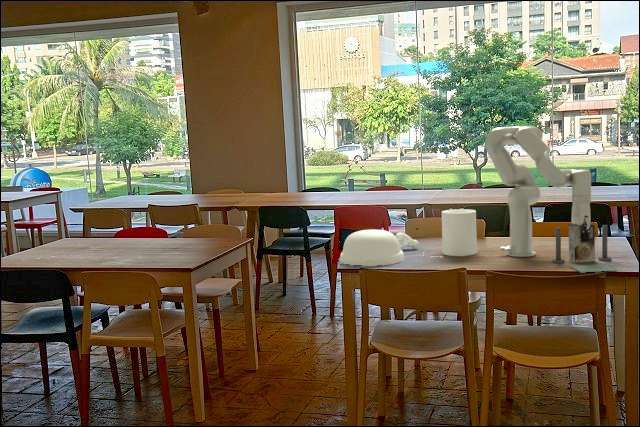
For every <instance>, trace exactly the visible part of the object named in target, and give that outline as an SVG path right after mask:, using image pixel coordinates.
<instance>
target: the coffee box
mask: <svg viewBox="0 0 640 427" xmlns="http://www.w3.org/2000/svg"><path fill="white" fill-rule="evenodd" d="M583 225H586V224H583ZM583 228H584V227H583ZM589 228H590V229H589V241H588V242H581V232H582V230H581V226H577V225H575V224H572V223H568V260H569V261H570V262H572V263H573V264H575V263H576V264H577V263H590V262H591V263H592V262H596V248H595V247H596V244H595V243H596V240H595V237H596V236H595V235H596V234H595V224H593V223H591V222H590V227H589Z"/></svg>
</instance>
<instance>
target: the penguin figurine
mask: <svg viewBox="0 0 640 427" xmlns="http://www.w3.org/2000/svg"><path fill="white" fill-rule="evenodd" d="M395 236H396V238H397V239H398V242H399V245H400V250H402V251H403V248H407V247H412V248H413V250H417V248H418V247H419V246H420V242H419V241H418V240H417V239H413V238H412V237H411V236H409V235H408V234H406V233H405V232H397V233H396V234H395Z"/></svg>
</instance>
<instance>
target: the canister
mask: <svg viewBox="0 0 640 427" xmlns="http://www.w3.org/2000/svg"><path fill="white" fill-rule="evenodd" d="M441 240H442V241H441V244H442V255H445V256H450V257H466V256H467V257H469V256H474V255H476V254H477V253H478V252H477V251H478V250H477V249H478V245H477V242H478V239H477V210H475V209H469V208H468V209H466V208H465V209H464V208H462V209H461V208H460V209H459V208H458V209H455V208H454V209H446V210H442V211H441Z"/></svg>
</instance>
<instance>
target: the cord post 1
mask: <svg viewBox="0 0 640 427" xmlns="http://www.w3.org/2000/svg"><path fill="white" fill-rule="evenodd" d="M561 230H562V228H561V227H558V226H557V227H555V258H552V260H551V261H552V263H553V264H564V263H565V261H566V260H565V259H564V258H562V250H561V248H562V241H561V240H562V238H561V237H562V234H561V232H562V231H561Z"/></svg>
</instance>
